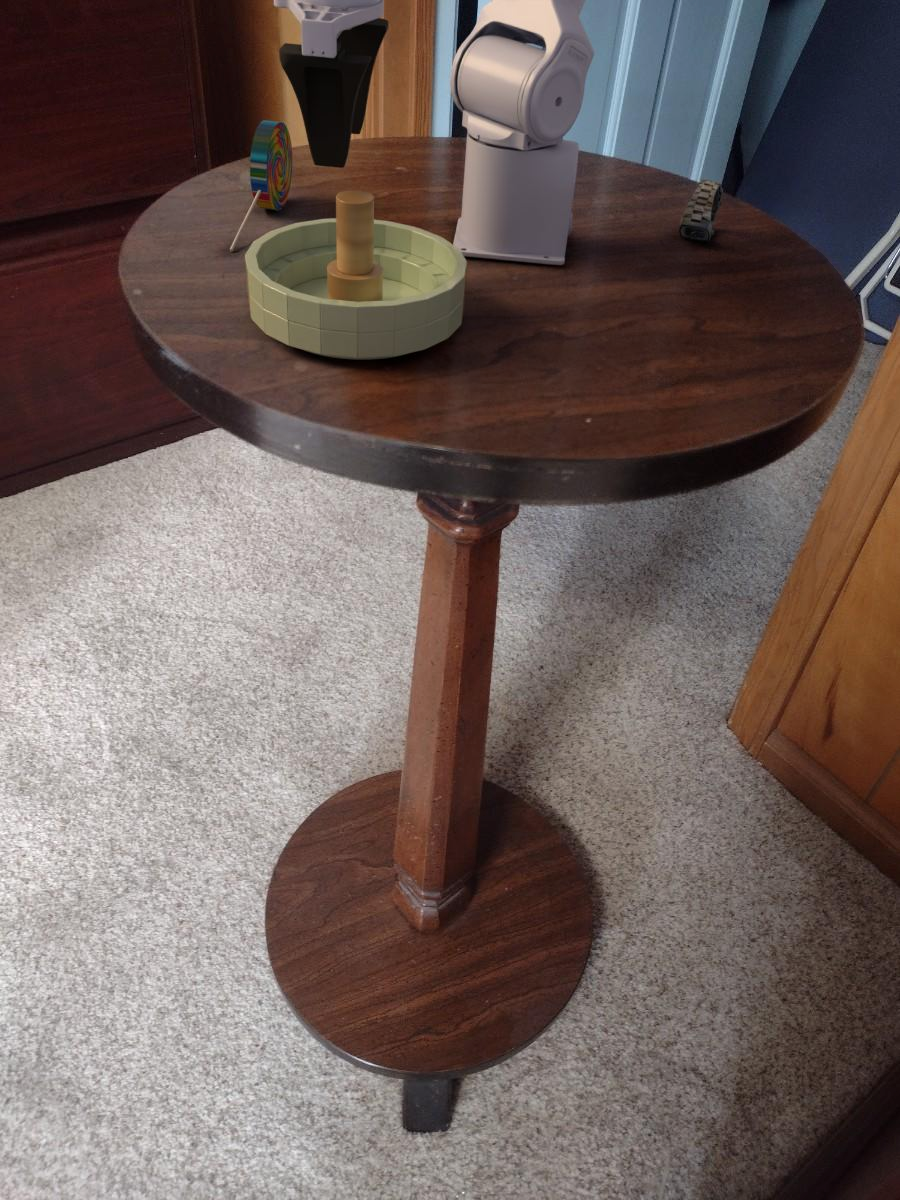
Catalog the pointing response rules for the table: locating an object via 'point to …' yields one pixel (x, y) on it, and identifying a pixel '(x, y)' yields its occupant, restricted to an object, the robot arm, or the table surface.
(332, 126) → the robot arm
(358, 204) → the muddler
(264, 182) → the lollipop
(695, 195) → the wristwatch
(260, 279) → the bowl
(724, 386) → the table surface
